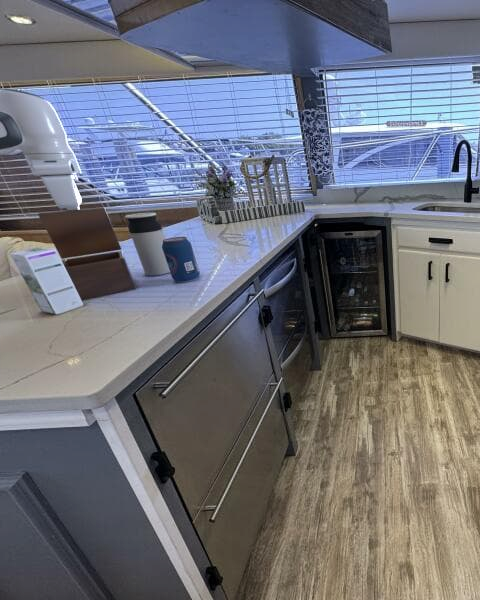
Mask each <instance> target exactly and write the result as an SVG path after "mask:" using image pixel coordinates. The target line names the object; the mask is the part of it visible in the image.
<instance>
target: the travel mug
mask: <svg viewBox="0 0 480 600" xmlns="http://www.w3.org/2000/svg"><path fill="white" fill-rule="evenodd" d="M124 218H125V219H126V220H127V221H128V226H127V229H128V233H129V234H130V237H131V239H132V242H133V245H134V247H135V248H134V249H135V250H136V253H137V255H138V258H139V262H140V263H141V266H142V270H143V272H144V275H145V276H150V277H156V276H163V275H166V274H171V273H170V270H169V267H168V264H167V261H166V258H165V255H164V252H163V249H162V244H163V240H164V239H166V236H165V233H164V230H163V227H162V224H161V223H160V222H159V220H158V219H157V213H156V212H141V213H131V214H127V215H124Z"/></svg>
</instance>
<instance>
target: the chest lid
mask: <svg viewBox="0 0 480 600" xmlns="http://www.w3.org/2000/svg"><path fill="white" fill-rule="evenodd" d="M37 216H38V217H39V219H40V221H41V223H42V224H43V227H44V228H45V231H46V232H47V234H48V236H49V238H50V240H51V242H52V243H53V246H54V248H55V249H56V250H57V253H58V255H59V257H60V259H61V260H65V259H71V258H78V257H84V256H91V255H97V254H104V253H110V252H117V251H123V250H122V247H121V245H120V242H119V240H118V237H117V234H116V232H115V229H114V226H113V224H112V222H111V219H110V217H109V215H108V212H107V209H106V207H105V206H103V207H91V208H80V209H79V210H60V211H59V210H58V211H46V212H38V213H37Z"/></svg>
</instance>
